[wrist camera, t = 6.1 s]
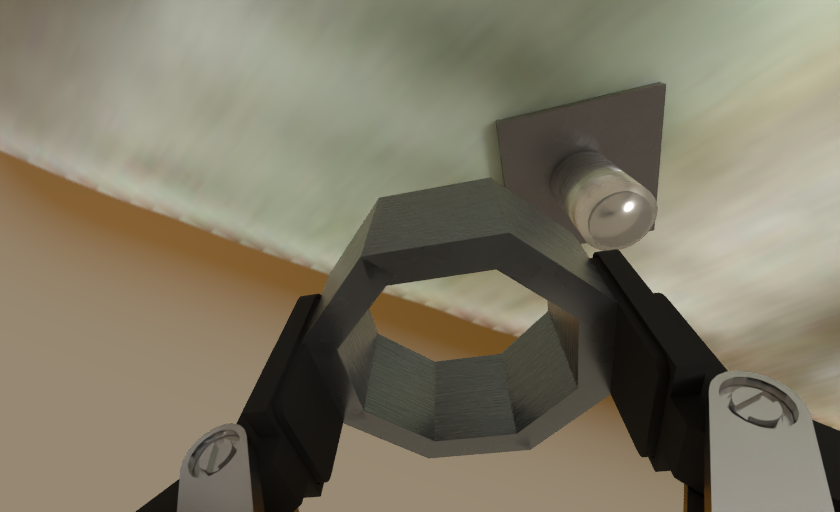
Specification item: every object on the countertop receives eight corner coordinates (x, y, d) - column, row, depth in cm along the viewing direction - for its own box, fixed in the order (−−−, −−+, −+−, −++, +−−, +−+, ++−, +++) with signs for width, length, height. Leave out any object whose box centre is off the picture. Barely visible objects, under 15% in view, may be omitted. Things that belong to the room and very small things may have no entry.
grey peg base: (495, 120, 25) (516, 151, 19) (659, 82, 23) (739, 102, 17) (513, 250, 30) (533, 308, 24) (648, 225, 28) (707, 279, 22)
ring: (305, 211, 11) (264, 272, 8) (574, 162, 10) (624, 213, 7) (374, 384, 14) (360, 463, 12) (573, 361, 13) (606, 443, 11)
